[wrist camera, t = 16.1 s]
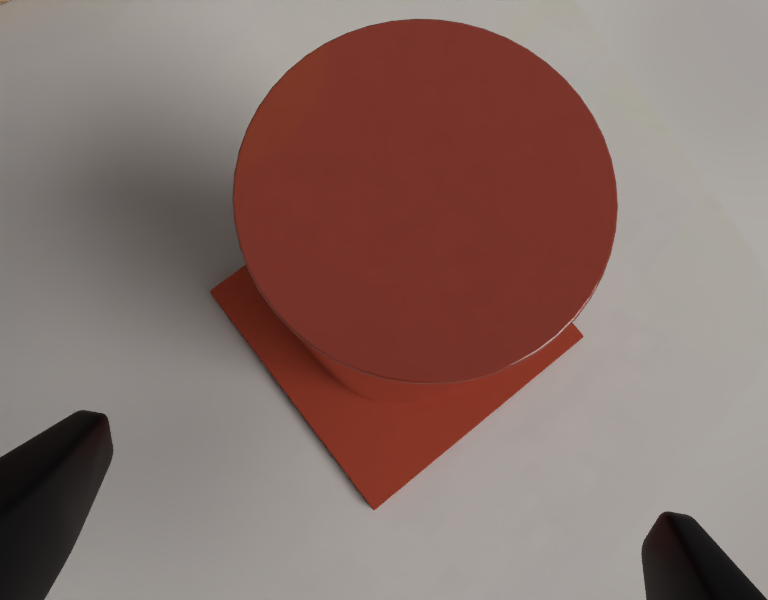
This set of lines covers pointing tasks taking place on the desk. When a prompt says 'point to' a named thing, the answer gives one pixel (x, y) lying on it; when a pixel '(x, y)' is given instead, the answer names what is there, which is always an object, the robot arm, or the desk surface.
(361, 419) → the red mat
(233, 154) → the desk surface
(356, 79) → the red upright cylinder
